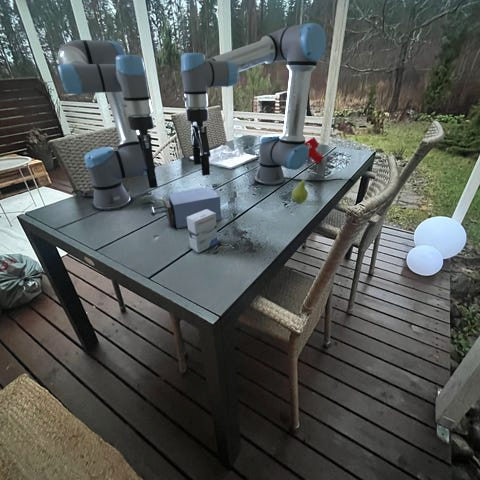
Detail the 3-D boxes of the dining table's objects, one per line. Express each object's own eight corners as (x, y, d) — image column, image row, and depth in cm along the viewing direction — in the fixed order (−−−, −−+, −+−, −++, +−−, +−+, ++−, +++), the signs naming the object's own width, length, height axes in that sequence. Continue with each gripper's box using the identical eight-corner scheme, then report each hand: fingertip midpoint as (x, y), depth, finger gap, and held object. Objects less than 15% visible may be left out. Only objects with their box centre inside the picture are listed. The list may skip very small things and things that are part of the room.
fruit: (288, 200, 123) (290, 174, 116) (302, 197, 125) (305, 172, 119) (296, 206, 118) (299, 179, 111) (310, 203, 120) (314, 177, 114)
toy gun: (326, 157, 168) (314, 136, 164) (326, 159, 164) (313, 137, 160) (301, 172, 178) (289, 153, 174) (300, 174, 174) (287, 154, 170)
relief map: (231, 168, 161) (231, 160, 158) (189, 159, 179) (189, 151, 176) (257, 158, 179) (257, 150, 176) (217, 150, 197) (216, 142, 194)
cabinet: (177, 228, 103) (173, 204, 97) (171, 216, 111) (167, 193, 106) (221, 219, 108) (220, 196, 103) (212, 208, 117) (211, 186, 111)
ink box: (209, 237, 96) (206, 207, 90) (218, 243, 93) (216, 212, 87) (189, 247, 91) (185, 216, 85) (198, 253, 88) (195, 221, 82)
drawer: (154, 229, 100) (150, 210, 96) (151, 218, 107) (147, 200, 103) (212, 218, 107) (211, 199, 103) (205, 208, 115) (203, 190, 110)
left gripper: (125, 113, 88) (140, 182, 101) (128, 119, 78) (144, 195, 91) (149, 111, 90) (161, 179, 103) (155, 117, 80) (167, 192, 93)
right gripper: (179, 104, 101) (185, 161, 112) (193, 113, 81) (199, 181, 92) (199, 103, 103) (203, 159, 114) (217, 112, 83) (220, 178, 95)
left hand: (153, 187), depth 97 cm, fingers closed
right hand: (201, 169), depth 103 cm, fingers open, 13 cm apart
